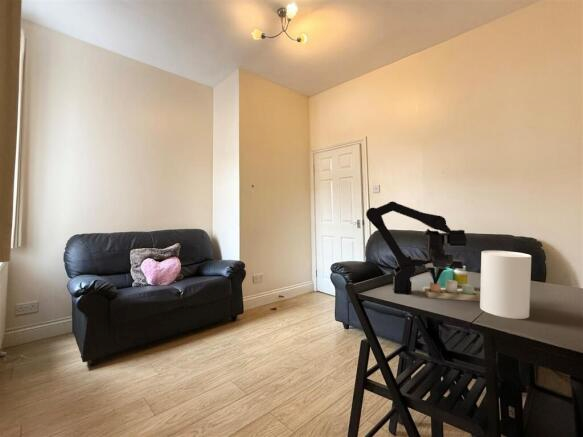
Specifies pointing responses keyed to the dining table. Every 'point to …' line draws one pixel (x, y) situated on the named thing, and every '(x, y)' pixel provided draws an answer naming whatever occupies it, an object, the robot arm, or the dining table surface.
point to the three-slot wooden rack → (451, 294)
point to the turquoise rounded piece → (445, 277)
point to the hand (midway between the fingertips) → (435, 283)
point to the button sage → (467, 289)
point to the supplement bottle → (460, 277)
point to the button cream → (451, 286)
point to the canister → (505, 283)
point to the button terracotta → (435, 287)
